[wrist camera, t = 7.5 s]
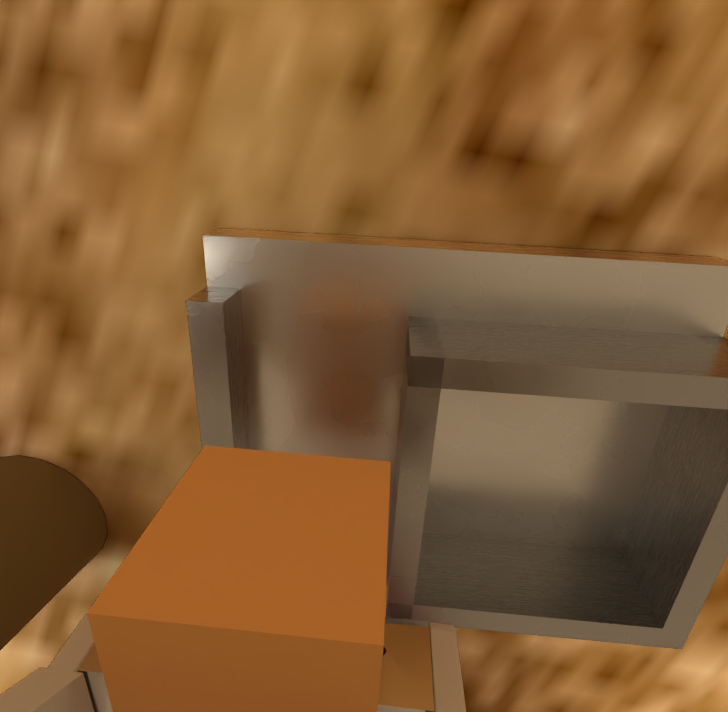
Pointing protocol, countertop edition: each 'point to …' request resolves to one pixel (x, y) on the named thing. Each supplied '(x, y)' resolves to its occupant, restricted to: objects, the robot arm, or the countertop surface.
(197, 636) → the bracket block
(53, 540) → the cork
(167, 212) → the countertop surface
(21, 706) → the robot arm
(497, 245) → the grey tray with frame
